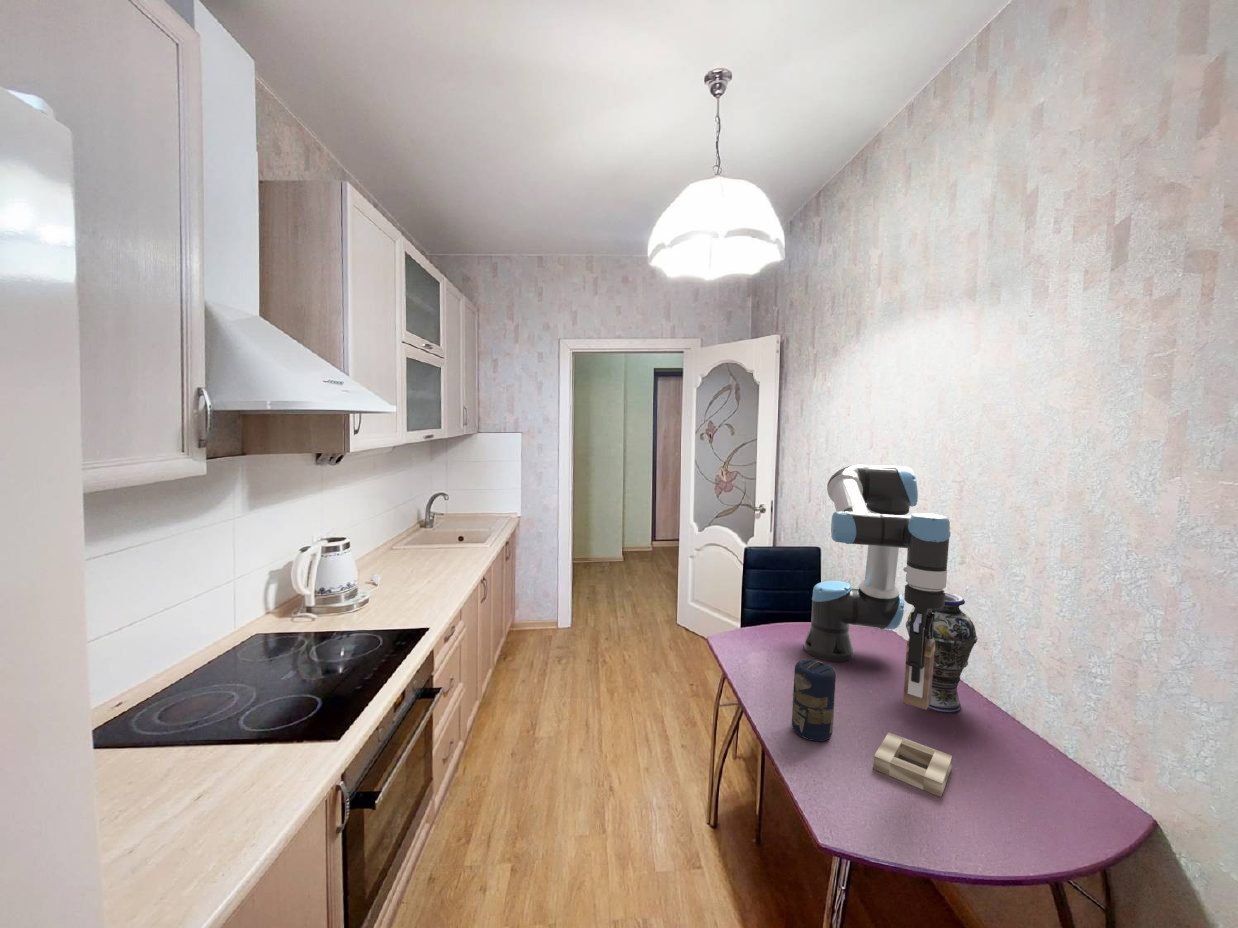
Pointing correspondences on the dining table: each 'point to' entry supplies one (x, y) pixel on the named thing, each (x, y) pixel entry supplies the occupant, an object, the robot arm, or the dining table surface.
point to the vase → (949, 653)
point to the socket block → (913, 763)
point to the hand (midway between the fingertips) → (917, 690)
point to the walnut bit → (928, 677)
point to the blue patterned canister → (813, 699)
